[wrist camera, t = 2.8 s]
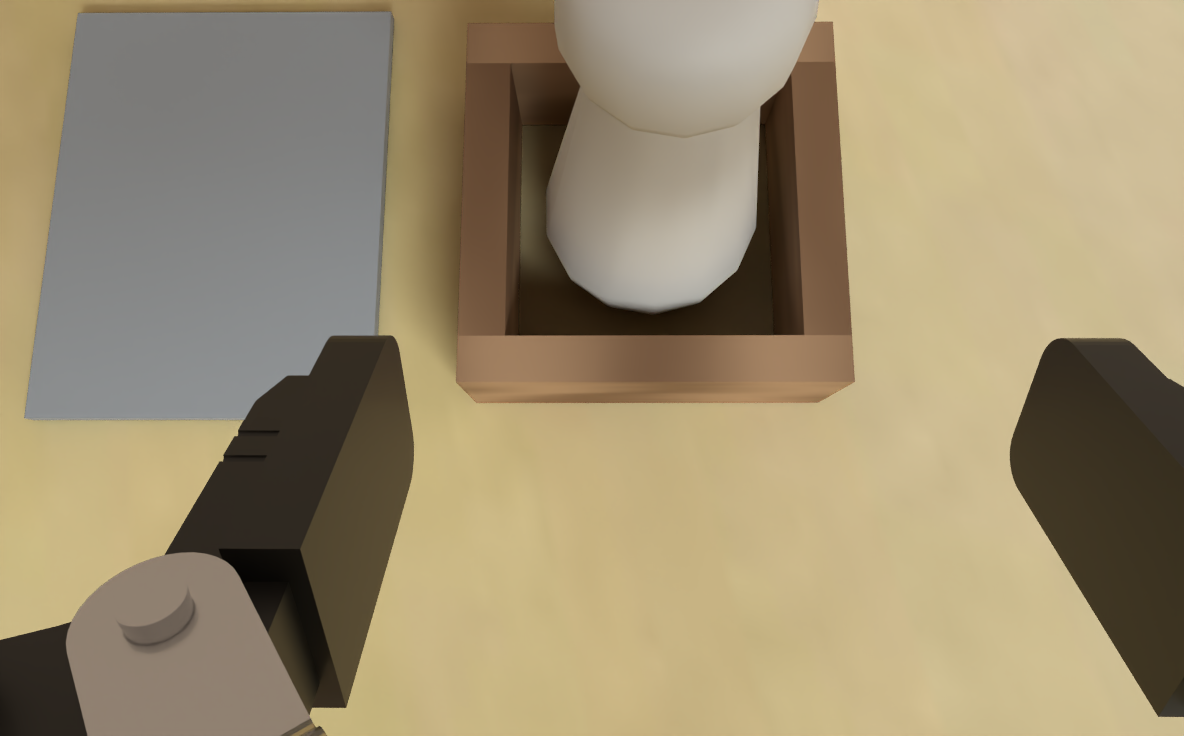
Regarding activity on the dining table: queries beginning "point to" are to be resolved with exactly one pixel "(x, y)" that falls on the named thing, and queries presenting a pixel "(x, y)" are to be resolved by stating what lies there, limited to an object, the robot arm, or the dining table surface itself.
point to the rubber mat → (211, 210)
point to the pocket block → (650, 362)
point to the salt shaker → (665, 141)
